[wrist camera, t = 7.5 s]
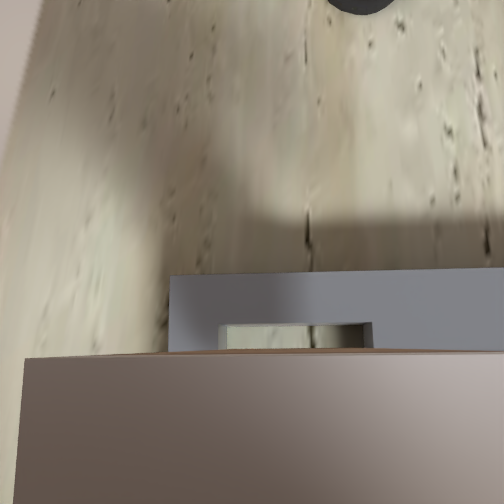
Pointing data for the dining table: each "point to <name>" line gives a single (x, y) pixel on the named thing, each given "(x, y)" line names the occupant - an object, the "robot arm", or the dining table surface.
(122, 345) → the dining table surface
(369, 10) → the cable
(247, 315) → the socket block
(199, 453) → the plug
